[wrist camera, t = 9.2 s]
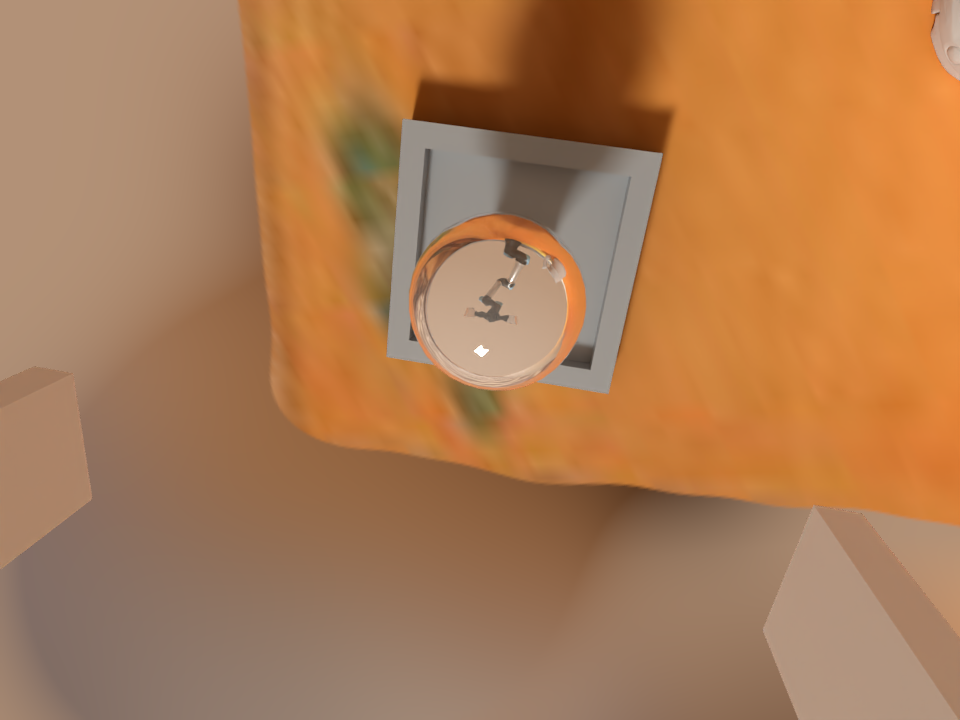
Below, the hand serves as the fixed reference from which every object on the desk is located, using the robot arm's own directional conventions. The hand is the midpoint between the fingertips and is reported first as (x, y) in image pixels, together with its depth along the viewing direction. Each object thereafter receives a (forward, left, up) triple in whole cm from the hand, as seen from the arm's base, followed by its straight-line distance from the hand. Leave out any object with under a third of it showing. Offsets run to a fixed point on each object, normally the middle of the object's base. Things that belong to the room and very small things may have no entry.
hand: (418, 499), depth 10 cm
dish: (0, 0, -23) cm, 23 cm away
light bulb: (0, 0, -22) cm, 22 cm away
